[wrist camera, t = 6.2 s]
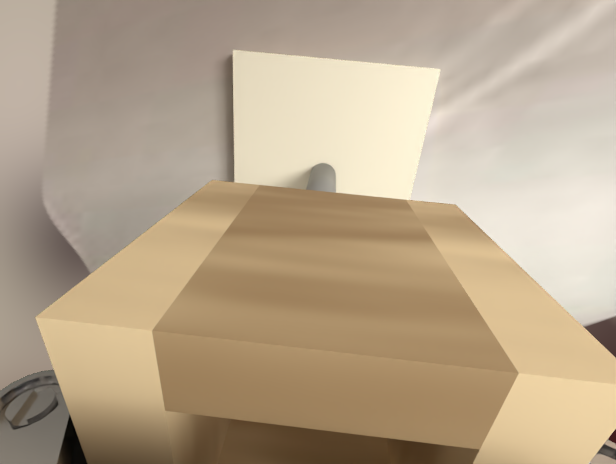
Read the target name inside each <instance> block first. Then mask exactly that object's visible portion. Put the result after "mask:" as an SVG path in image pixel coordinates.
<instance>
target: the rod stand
mask: <svg viewBox="0 0 616 464" xmlns="http://www.w3.org/2000/svg"><path fill="white" fill-rule="evenodd" d="M440 70H441V69H433V68H422V67H412V66H401V65H390V64H380V63H369V62H358V61H348V60H337V59H326V58H316V57H305V56H294V55H283V54H273V53H262V52H251V51H241V50H233V111H234V182H236V183H246V184H256V185H266V186H275V187H285V188H295V189H305V190H315V191H325V192H335V193H345V194H355V195H365V196H374V197H384V198H394V199H404V200H410V196H411V192H412V188H413V184H414V180H415V175H416V171H417V167H418V163H419V159H420V154H421V150H422V146H423V142H424V138H425V133H426V129H427V125H428V121H429V117H430V112H431V108H432V104H433V100H434V96H435V91H436V87H437V83H438V79H439V75H440Z"/></svg>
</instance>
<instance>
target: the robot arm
mask: <svg viewBox="0 0 616 464" xmlns="http://www.w3.org/2000/svg"><path fill="white" fill-rule="evenodd" d="M0 464H88V463H87V461H86V458H85V455H84V452H83V450H82V447H81V444H80V441H79V438H78V436H77V433H76V430H75V427H74V424H73V422H72V419H71V416H70V413H69V411H68V408H67V405H66V402H65V399H64V397H63V394H62V391H61V388H60V385H59V383H58V380H57V377H56V374H55V372H54V370H48V371H41V372H37V373H34V374H31V375H27V376H25V377H23V378H21V379H19V380H17V381H15V382H13V383H11V384H10V385H8V386H7V387H5V388H4V389H2V390H0ZM589 464H616V444H615V443H613V442H611V441H609V440H608V439H607V440H606V442H605V443H604V444H603V446H602V447H601V448H600V449H599V451H598V452H597V453H596V455H595V456H594V457H593V458H592V460H591V461H590V462H589Z"/></svg>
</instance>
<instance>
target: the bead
mask: <svg viewBox="0 0 616 464" xmlns="http://www.w3.org/2000/svg"><path fill="white" fill-rule="evenodd" d="M35 319H36V321H37V324H38V327H39V330H40V333H41V335H42V338H43V341H44V344H45V346H46V349H47V352H48V355H49V358H50V360H51V363H52V366H53V369H54V372H55V374H56V377H57V380H58V383H59V385H60V388H61V391H62V394H63V397H64V399H65V402H66V405H67V408H68V411H69V413H70V416H71V419H72V422H73V424H74V427H75V430H76V433H77V436H78V438H79V441H80V444H81V447H82V450H83V452H84V455H85V458H86V461H87V463H88V464H589V462H590V461H591V460H592V458H593V457H594V456H595V455H596V453H597V452H598V451H599V449H600V448H601V447H602V446H603V444H604V443H605V442H606V440H607V439H608V438H609V436H610V435H611V434H612V432H613V431H614V430H615V429H616V358H615V357H614V356H613V355H612V354H611V353H610V352H609V351H608V350H607V349H606V348H604V346H603V345H602V344H600V343H599V342H598V341H597V340H596V339H595V338H594V337H593V336H592V335H591V334H590V333H589V332H588V331H587V330H586V329H585V328H584V327H583V326H582V325H581V324H580V323H579V322H577V321H576V320H575V319H574V318H573V317H572V316H571V315H570V314H569V313H568V312H567V311H566V310H565V309H564V308H563V307H562V306H561V305H560V304H559V303H558V302H557V301H556V300H555V299H553V298H552V297H551V296H550V295H549V294H548V293H547V292H546V291H545V290H544V289H543V288H542V287H541V286H540V285H539V284H538V283H537V282H536V281H535V280H534V279H533V278H532V277H530V276H529V275H528V274H527V273H526V272H525V271H524V270H523V269H522V268H521V267H520V266H519V265H518V264H517V263H516V262H515V261H514V260H513V259H512V258H511V257H510V256H509V255H508V254H506V253H505V252H504V251H503V250H502V249H501V248H500V247H499V246H498V245H497V244H496V243H495V242H494V241H493V240H492V239H491V238H490V237H489V236H488V235H487V234H486V233H485V232H483V231H482V230H481V229H480V228H479V227H478V226H477V225H476V224H475V223H474V222H473V221H472V220H471V219H470V218H469V217H468V216H467V215H466V214H465V213H464V212H463V211H462V210H461V209H459V208H458V207H457V206H456V205H454V204H444V203H434V202H424V201H414V200H404V199H394V198H384V197H374V196H365V195H355V194H345V193H335V192H325V191H315V190H305V189H295V188H285V187H275V186H266V185H256V184H246V183H236V182H226V181H216V180H212V181H210V182H209V183H208V184H206V185H205V186H204V187H202V188H201V189H200V190H199V191H197V192H196V193H195V194H193V195H192V196H191V197H190V198H188V199H187V200H186V201H184V202H183V203H182V204H181V205H179V206H178V207H177V208H175V209H174V210H173V211H171V212H170V213H169V214H168V215H166V216H165V217H164V218H162V219H161V220H160V221H159V222H157V223H156V224H155V225H153V226H152V227H151V228H150V229H148V230H147V231H146V232H144V233H143V234H142V235H140V236H139V237H138V238H137V239H135V240H134V241H133V242H131V243H130V244H129V245H128V246H126V247H125V248H124V249H122V250H121V251H120V252H119V253H117V254H116V255H115V256H113V257H112V258H111V259H109V260H108V261H107V262H106V263H104V264H103V265H102V266H100V267H99V268H98V269H97V270H95V271H94V272H93V273H91V274H90V275H89V276H88V277H86V278H85V279H84V280H83V281H81V282H80V283H79V284H77V285H76V286H75V287H73V288H72V289H71V290H69V291H68V292H67V293H66V294H64V295H63V296H62V297H60V298H59V299H58V300H56V301H55V302H54V303H53V304H51V305H50V306H49V307H48V308H46V309H45V310H44V311H42V312H41V313H40V314H38V315H37V316H36V317H35Z"/></svg>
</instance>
